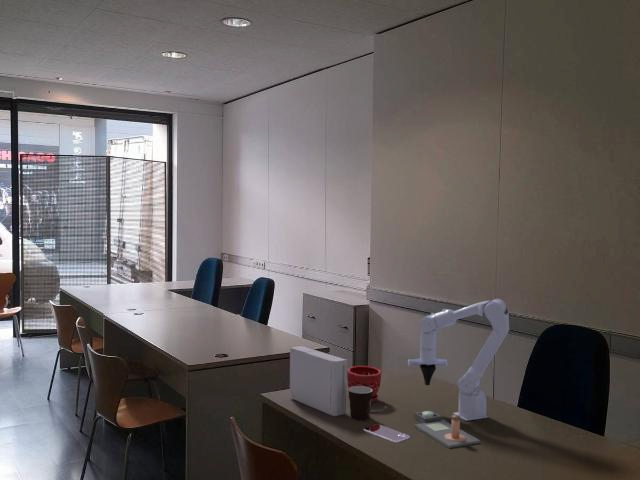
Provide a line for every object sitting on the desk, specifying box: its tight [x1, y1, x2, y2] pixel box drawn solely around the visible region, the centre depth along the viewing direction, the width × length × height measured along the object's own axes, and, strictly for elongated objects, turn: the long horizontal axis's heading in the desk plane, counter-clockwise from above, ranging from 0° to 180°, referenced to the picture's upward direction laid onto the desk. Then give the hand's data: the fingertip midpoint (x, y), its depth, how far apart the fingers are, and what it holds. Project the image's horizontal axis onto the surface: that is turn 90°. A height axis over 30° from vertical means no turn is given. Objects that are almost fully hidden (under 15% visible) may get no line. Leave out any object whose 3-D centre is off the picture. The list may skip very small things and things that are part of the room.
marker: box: [451, 414, 461, 439], centre depth 199 cm, size 3×3×7 cm
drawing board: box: [414, 419, 481, 449], centre depth 204 cm, size 12×20×1 cm, turn 23°
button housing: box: [413, 410, 443, 424], centre depth 217 cm, size 7×7×2 cm
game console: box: [289, 345, 348, 417], centre depth 231 cm, size 6×27×20 cm, turn 39°
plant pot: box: [346, 365, 382, 404], centre depth 238 cm, size 13×13×12 cm
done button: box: [421, 410, 434, 418], centre depth 217 cm, size 4×4×2 cm
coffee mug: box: [347, 386, 373, 421], centre depth 220 cm, size 12×9×10 cm
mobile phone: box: [363, 423, 411, 443], centre depth 204 cm, size 8×1×15 cm
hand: (427, 384), depth 228 cm, fingers closed
